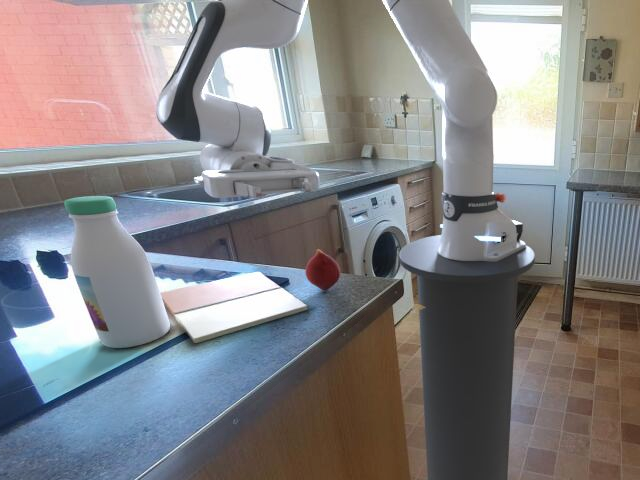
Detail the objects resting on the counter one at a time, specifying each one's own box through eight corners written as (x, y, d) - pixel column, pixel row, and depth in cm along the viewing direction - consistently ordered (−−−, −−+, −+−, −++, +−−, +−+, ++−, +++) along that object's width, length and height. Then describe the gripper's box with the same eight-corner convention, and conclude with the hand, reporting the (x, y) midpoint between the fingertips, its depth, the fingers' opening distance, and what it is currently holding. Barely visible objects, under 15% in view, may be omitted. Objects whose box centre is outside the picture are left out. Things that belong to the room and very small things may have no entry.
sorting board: (259, 275, 83) (258, 270, 82) (308, 309, 69) (307, 305, 69) (159, 297, 71) (157, 292, 71) (194, 343, 58) (193, 338, 58)
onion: (343, 283, 81) (338, 244, 77) (340, 295, 75) (335, 254, 72) (311, 285, 79) (305, 245, 76) (306, 297, 74) (299, 255, 71)
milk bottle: (178, 320, 64) (139, 192, 56) (160, 344, 58) (112, 203, 50) (116, 327, 61) (65, 193, 54) (90, 353, 55) (27, 205, 47)
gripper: (186, 161, 75) (218, 176, 68) (297, 158, 90) (333, 170, 83) (193, 195, 77) (224, 213, 70) (300, 186, 93) (334, 201, 86)
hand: (284, 190), depth 77 cm, fingers open, 8 cm apart
